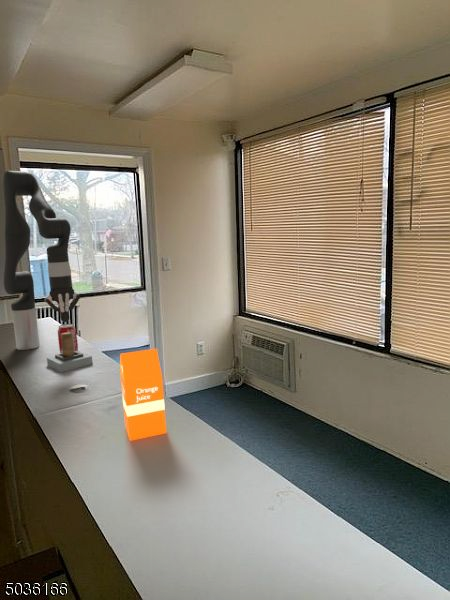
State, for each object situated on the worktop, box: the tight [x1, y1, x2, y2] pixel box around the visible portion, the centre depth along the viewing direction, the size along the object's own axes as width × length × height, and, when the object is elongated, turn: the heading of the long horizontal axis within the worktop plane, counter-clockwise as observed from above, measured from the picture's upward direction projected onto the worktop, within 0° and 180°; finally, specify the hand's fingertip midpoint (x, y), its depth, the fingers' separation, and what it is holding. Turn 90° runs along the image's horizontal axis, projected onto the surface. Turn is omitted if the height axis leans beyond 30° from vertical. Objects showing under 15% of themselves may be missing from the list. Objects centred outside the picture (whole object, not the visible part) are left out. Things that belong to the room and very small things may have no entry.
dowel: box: [61, 332, 74, 357], centre depth 159 cm, size 4×4×12 cm
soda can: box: [57, 323, 79, 354], centre depth 173 cm, size 7×7×12 cm
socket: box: [46, 350, 93, 373], centre depth 160 cm, size 12×12×4 cm
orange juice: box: [119, 348, 167, 442], centre depth 103 cm, size 8×9×20 cm
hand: (65, 321), depth 157 cm, fingers closed
